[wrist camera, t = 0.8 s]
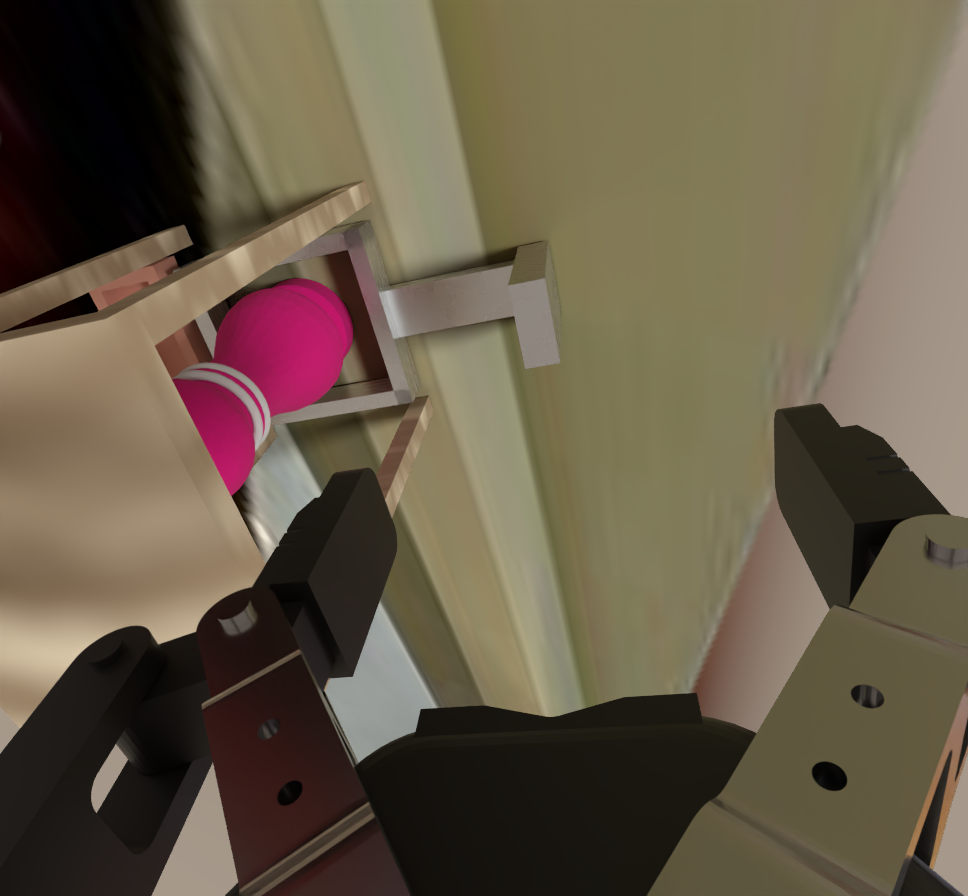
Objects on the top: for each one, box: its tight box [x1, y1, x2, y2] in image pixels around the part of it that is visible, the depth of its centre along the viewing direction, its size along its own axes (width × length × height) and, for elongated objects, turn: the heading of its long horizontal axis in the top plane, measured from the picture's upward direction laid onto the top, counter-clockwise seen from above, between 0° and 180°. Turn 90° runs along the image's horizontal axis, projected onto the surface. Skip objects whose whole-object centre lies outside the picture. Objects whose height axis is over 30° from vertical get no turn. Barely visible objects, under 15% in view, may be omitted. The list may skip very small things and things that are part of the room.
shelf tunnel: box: [0, 181, 433, 728], centre depth 31 cm, size 15×13×24 cm
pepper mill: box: [172, 278, 353, 495], centre depth 33 cm, size 7×7×20 cm
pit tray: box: [89, 256, 213, 379], centre depth 43 cm, size 12×5×2 cm, turn 13°
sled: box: [173, 220, 561, 426], centre depth 37 cm, size 11×22×8 cm, turn 103°
